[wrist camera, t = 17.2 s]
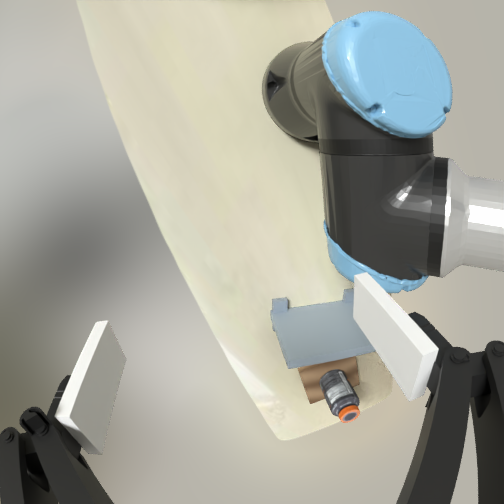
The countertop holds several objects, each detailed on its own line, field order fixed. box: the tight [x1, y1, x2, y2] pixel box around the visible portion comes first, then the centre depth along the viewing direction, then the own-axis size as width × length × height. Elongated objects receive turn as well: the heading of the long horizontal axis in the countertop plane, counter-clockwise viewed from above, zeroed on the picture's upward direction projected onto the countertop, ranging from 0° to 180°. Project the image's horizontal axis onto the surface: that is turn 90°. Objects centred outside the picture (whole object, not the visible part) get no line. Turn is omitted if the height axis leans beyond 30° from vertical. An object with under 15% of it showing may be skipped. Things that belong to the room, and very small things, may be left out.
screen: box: [271, 288, 376, 369], centre depth 47 cm, size 16×6×13 cm, turn 92°
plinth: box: [298, 356, 359, 404], centre depth 60 cm, size 12×12×1 cm
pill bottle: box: [319, 369, 360, 423], centre depth 54 cm, size 6×6×11 cm
